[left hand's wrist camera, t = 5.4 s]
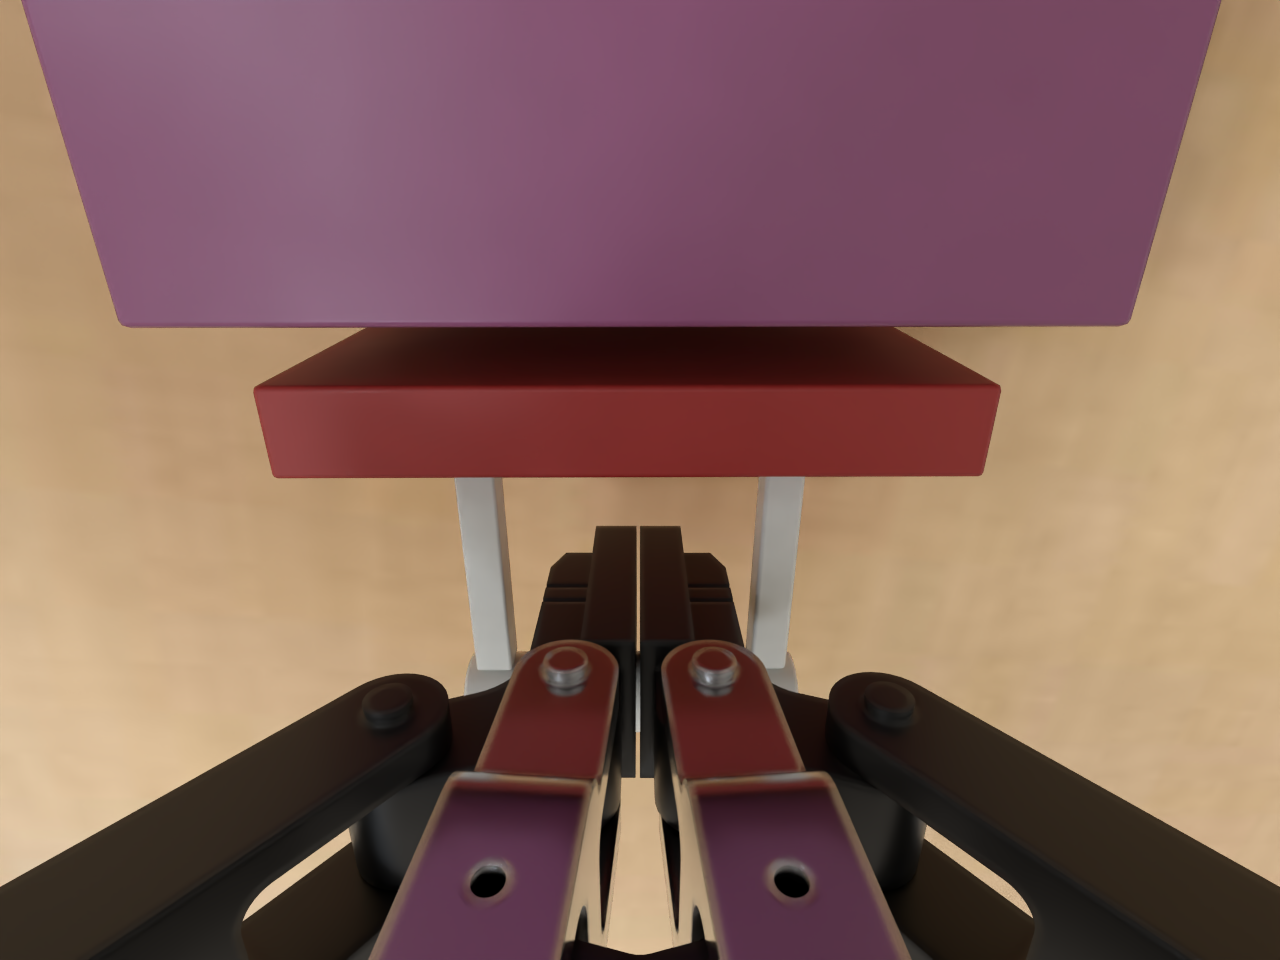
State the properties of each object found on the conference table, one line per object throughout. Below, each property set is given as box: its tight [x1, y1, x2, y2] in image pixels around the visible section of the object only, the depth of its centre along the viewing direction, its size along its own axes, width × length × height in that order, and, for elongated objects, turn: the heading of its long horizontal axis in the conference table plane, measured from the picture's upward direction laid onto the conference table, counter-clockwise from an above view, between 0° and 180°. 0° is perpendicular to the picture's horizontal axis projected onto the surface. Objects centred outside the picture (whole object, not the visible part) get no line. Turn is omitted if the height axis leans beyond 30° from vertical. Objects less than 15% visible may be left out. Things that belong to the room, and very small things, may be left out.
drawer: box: [253, 327, 1001, 732], centre depth 9 cm, size 22×9×6 cm, turn 0°
